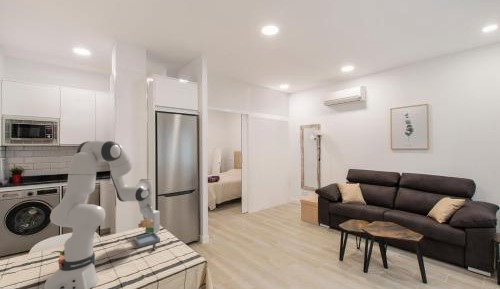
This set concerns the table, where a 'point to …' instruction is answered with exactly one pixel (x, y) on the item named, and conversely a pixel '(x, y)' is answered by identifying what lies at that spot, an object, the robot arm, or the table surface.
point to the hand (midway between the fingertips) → (146, 222)
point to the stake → (154, 247)
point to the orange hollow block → (145, 224)
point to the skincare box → (154, 223)
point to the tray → (147, 239)
